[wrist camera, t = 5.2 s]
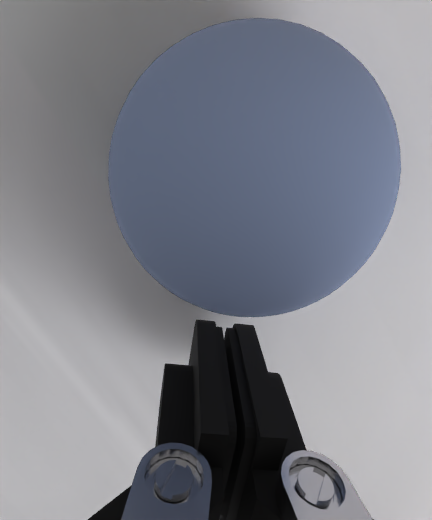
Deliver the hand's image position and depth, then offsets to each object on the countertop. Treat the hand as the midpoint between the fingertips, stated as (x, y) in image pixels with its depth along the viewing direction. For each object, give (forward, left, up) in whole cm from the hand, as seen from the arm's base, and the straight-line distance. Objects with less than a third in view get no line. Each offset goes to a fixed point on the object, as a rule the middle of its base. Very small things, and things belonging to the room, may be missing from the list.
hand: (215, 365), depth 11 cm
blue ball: (+4, -4, +1) cm, 6 cm away
